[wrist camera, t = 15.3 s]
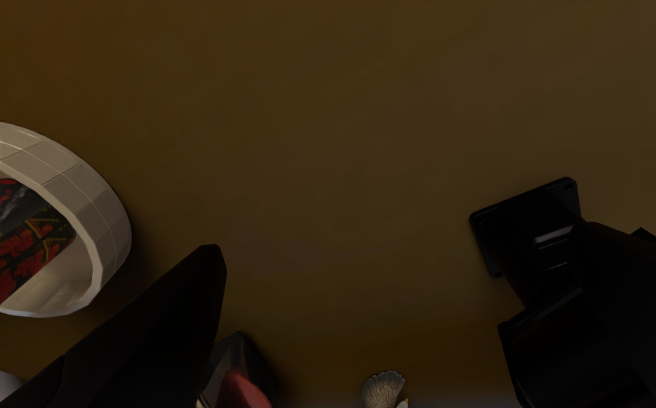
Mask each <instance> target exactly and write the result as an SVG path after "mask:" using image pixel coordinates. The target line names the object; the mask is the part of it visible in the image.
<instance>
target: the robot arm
mask: <svg viewBox="0 0 656 408" xmlns="http://www.w3.org/2000/svg"><path fill="white" fill-rule="evenodd" d="M566 184H568V185H567V186H565V185H566ZM564 186H565V187H564ZM477 218H480V219H479V220H477V221H476V219H477ZM469 219H470V223H471V225H472V228H473V231H474V234H475V236H476V239H477V242H478V244H479V247H480V250H481V253H482V255H483V258H484V261H485V264H486V266H487V269H488V272H489V274H490V276H491V277H492V278H493V279H501V278H504V277H505V278H506V279H507V281H508V282H509V284H510V285H511V287H512V288H513V290H514V291H515V293H516V294H517V296H518V297H519V299H520V301H521V302H522V304H523V305H524V307H525V308H526V309H524V310H523V311H521V312H520V313H518V314H517V315H516V316H514V317H513V318H511V319H510V320H508V321H507V322H506V321H504V322H502V323H501V324H499V325H498V326H497V328H498V332H499V336H500V339H501V343H502V347H503V350H504V354H505V358H506V361H507V365H508V369H509V373H510V376H511V380H512V383H513V386H514V390H515V393H516V397H517V400H518V401H519V403H520V404H521V406H522V407H523V408H656V237H655V236H654V235H652V234H651V233H649V232H648V231H646V230H645V229H643V228H642V227H640V228H639V229H637V230H636V231H634V232H633V233H632V234H630V235H629V234H627V233H624V232H621V231H619V230H616V229H613V228H611V227H608V226H605V225H603V224H600V223H597V222H587V221H585V220H584V219H583V218H582V217H581V211H580V204H579V197H578V190H577V183H576V181H574V180H573V179H571V178H570V177H563V178H561V179H558V180H555V181H553V182H550V183H548V184H545V185H543V186H540V187H538V188H535V189H532V190H530V191H527V192H525V193H522V194H520V195H517V196H515V197H512V198H509V199H507V200H504V201H502V202H499V203H497V204H494V205H492V206H489V207H486V208H484V209H481V210H479V211H476V212H474V213H472V214H471V216H470V218H469ZM226 278H227V269H226V265H225V262H224V259H223V256H222V253H221V249H220V247H219V246H218V245H216V244H210V245H201V246H200V247H198V248H197V249H196V250H194V251H193V252H192V253H191V254H189V255H188V256H187V257H185V258H184V259H183V260H182V261H180V262H179V263H178V264H177V265H175V266H174V267H173V268H172V269H170V270H169V271H168V272H166V273H165V274H164V275H163V276H161V277H160V278H159V279H158V280H156V281H155V282H154V283H152V284H151V285H150V286H149V287H147V288H146V289H145V290H144V291H142V292H141V293H140V294H138V295H137V296H136V297H135V298H133V299H132V300H131V301H130V302H128V303H127V304H126V305H125V306H123V307H122V308H121V309H119V310H118V311H117V312H116V313H114V314H113V315H112V316H111V317H109V318H108V319H107V320H105V321H104V322H103V323H102V324H100V325H99V326H98V327H97V328H95V329H94V330H93V331H91V332H90V333H89V334H88V335H86V336H85V337H84V338H83V339H81V340H80V341H79V342H78V343H76V344H75V345H74V346H72V347H71V348H70V349H69V350H67V351H66V353H65V355H61V356H60V357H58V358H57V359H56V360H55V361H53V362H52V363H51V364H49V365H48V366H47V367H46V368H44V369H43V370H42V371H41V372H39V373H38V374H37V375H35V376H34V377H33V378H31V379H30V380H29V381H27V382H26V383H25V384H24V385H22V386H21V387H20V388H18V389H17V390H16V391H14V392H13V393H12V394H11V395H9V396H8V397H7V398H5V399H4V400H2V401H1V402H0V408H196V404H197V401H198V397H199V394H200V390H201V387H202V383H203V380H204V377H205V373H206V370H207V366H208V363H209V359H210V356H211V352H212V349H213V345H214V342H215V338H216V334H217V330H218V325H219V319H220V313H221V307H222V302H223V296H224V290H225V284H226Z"/></svg>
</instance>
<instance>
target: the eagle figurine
mask: <svg viewBox="0 0 656 408" xmlns="http://www.w3.org/2000/svg"><path fill="white" fill-rule="evenodd" d="M404 383H405V379H403V378H402V375H400V374H397V372H396V371H393V372H392V371H391V370H389V371H387V372H386V373H384V372H382V373H380V374H379V375H378V377H377V376H376V375H374V376H373V377H372V379H371V378H369V379H368V380H367V381H366V384H364V386H363V389H362V395H361V402H360V408H394V405H395V403H396V400H397V396H398V394H399V393H400V391H401V389H402V387H403V385H404ZM407 403H408V399H406V400H405V401H402V402H401V403H400V404H399V405H398V406H397V408H408V404H407Z"/></svg>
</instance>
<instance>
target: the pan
mask: <svg viewBox="0 0 656 408" xmlns="http://www.w3.org/2000/svg"><path fill="white" fill-rule="evenodd" d="M1 178H13V179H15V180H17V181H19V182H20V183H22V184H24V185H26V186H27V187H29V188H31V189H33V190H34V191H36V192H37V193H38V194H39V195H40V196H42V197H43V198H44V199H45V200H46V201H47V202H48V203H50V204H51V205H52V206H53V207H54V208H55V209H57V210H58V211H59V212H60V213H61V214H62V215H64V216H65V217H66V218H67V220H68V221H69V222H70V224H71V225H72V226H73V228H74V229H75V230H76V237H75V239H74V241H73V242H72V243H71V244H70V245H69V246H68V247H67V248H65V249H64V250H63V251H62V252H61V253H60V254H58V255H57V256H56V257H55V258H54V259H53V260H52V261H50V262H49V263H48V264H47V265H46V266H45V267H43V268H42V269H41V270H40V271H39V272H38V273H37V274H35V275H34V276H33V277H32V278H31V279H30V280H28V281H27V282H26V283H25V284H24V285H23V286H22V287H20V288H19V289H18V290H17V291H16V292H15V293H13V294H12V295H11V296H10V297H9V298H8V299H7V300H5V301H4V302H3V303H2V304H1V305H0V312H2V313H6V314H10V315H17V316H27V317H37V318H45V317H53V316H62V315H68V314H70V313H72V312H74V311H77V310H79V309H81V308H83V307H85V306H87V305H89V304H90V303H91V301H92V300H93V299H94V298H95V297H96V295H97V294H98V293H99V292H100V291H101V290H102V288H103V287H104V286H105V285H106V284H107V283H108V281H109V280H110V279H111V278H112V277H113V275H114V274H115V273H116V272H117V271H118V269H119V268H120V267H121V266H122V264H123V263H124V262H125V260H126V259H127V257H128V255H129V252H130V248H131V243H132V233H131V226H130V222H129V219H128V216H127V213H126V211H125V209H124V207H123V205H122V203H121V201H120V200H119V198H118V196H117V195H116V194H115V192H114V191H113V190H112V188H111V187H110V186H109V184H108V183H107V182H106V181H105V180H104V179H103V178H102V177H101V176H100V174H99V173H98V172H96V171H95V170H94V169H93V168H92V167H91V166H90V165H89V164H88V163H86V162H85V161H84V160H82V159H81V158H80V157H78V156H77V155H76V154H75V153H73V152H71V151H70V150H68V149H67V148H65V147H64V146H62V145H61V144H59V143H57V142H55V141H53V140H51V139H49V138H47V137H45V136H43V135H41V134H38V133H36V132H34V131H31V130H29V129H25V128H22V127H19V126H16V125H13V124H8V123H3V122H0V179H1Z"/></svg>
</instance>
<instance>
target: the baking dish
mask: <svg viewBox="0 0 656 408" xmlns="http://www.w3.org/2000/svg"><path fill="white" fill-rule="evenodd" d="M279 395H280V390H279V387H278V386H277V384H276V382H275V380H274V378H273V376H272V375H271V373H270V372H269V370H268V369H267V367H266V366H265V364H264V363H263V361H262V360H261V358H260V357H259V355H258V354H257V352H256V351H255V349H254V348H253V347H252V345H251V344H250V343H249V341H248V340H247V339H246V337H245V336H244V335H243V334H242V333H241V332H240V331H237V332H236V333H234V334H232V335H231V336H229V337H227V338H226V339H224V340H222V341H221V342H219V343H217V344H216V345H214V346H213V349H212V352H211V356H210V359H209V363H208V366H207V370H206V373H205V377H204V380H203V383H202V387H201V390H200V394H199V397H198V401H197V404H196V408H274V404H275V402H276V399H277V397H278V396H279Z"/></svg>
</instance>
